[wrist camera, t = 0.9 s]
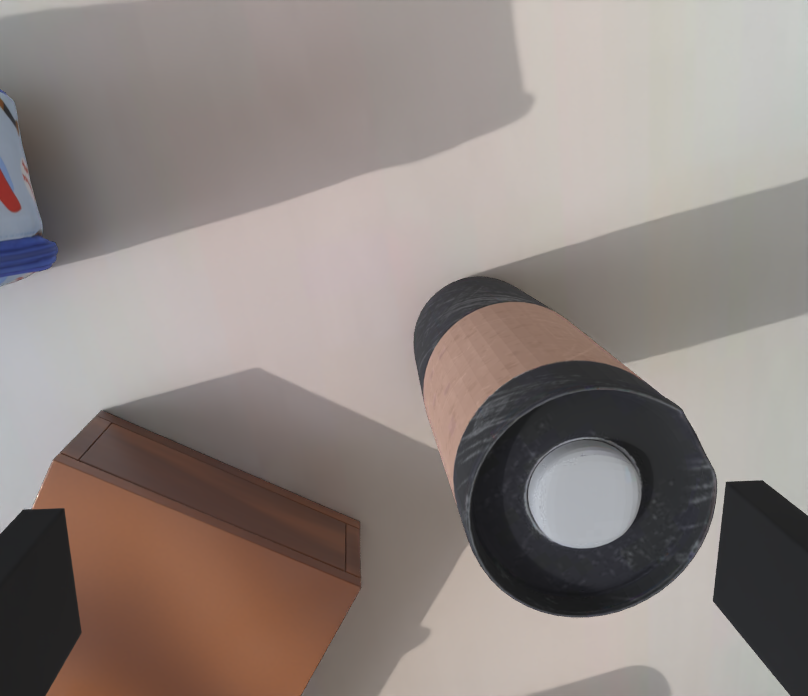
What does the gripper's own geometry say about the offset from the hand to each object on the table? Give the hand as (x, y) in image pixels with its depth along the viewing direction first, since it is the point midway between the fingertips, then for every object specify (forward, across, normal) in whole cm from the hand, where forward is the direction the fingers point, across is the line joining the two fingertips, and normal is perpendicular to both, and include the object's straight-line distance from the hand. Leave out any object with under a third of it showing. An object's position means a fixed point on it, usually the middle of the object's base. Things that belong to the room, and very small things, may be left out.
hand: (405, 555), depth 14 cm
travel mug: (+26, -6, +2) cm, 27 cm away
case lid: (+20, +12, +17) cm, 29 cm away
